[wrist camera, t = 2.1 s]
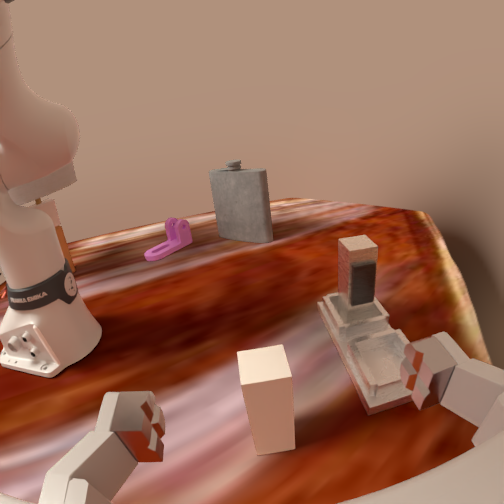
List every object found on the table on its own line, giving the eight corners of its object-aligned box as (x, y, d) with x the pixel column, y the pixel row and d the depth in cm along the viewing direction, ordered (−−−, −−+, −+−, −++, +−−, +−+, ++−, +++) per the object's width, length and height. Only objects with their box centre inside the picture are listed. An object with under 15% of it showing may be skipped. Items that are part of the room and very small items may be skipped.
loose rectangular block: (257, 455, 28) (240, 385, 23) (252, 422, 33) (236, 347, 28) (295, 449, 29) (291, 376, 24) (287, 416, 33) (281, 340, 28)
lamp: (79, 250, 90) (48, 119, 72) (114, 265, 77) (77, 101, 59) (18, 282, 74) (-22, 142, 56) (39, 307, 60) (-14, 126, 43)
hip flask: (275, 238, 80) (267, 157, 71) (267, 245, 77) (258, 161, 68) (223, 232, 88) (212, 159, 80) (214, 237, 85) (202, 163, 76)
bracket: (179, 239, 87) (174, 215, 84) (192, 242, 84) (187, 217, 81) (141, 258, 79) (134, 233, 76) (153, 263, 75) (147, 236, 72)
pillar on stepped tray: (367, 415, 31) (385, 324, 25) (317, 310, 51) (315, 232, 45) (429, 394, 31) (458, 302, 26) (364, 300, 51) (368, 224, 46)
